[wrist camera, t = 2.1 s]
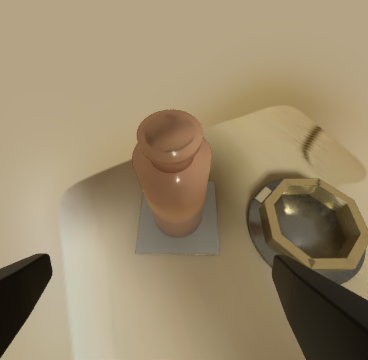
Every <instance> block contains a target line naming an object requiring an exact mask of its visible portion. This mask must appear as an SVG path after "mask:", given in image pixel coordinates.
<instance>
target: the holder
mask: <svg viewBox="0 0 368 360" xmlns="http://www.w3.org/2000/svg"><path fill="white" fill-rule="evenodd" d="M248 228H249V232H250V236H251V238H252V241H253V243H254V245H255V247H256V249H257V251H258V252H259V254H260V255H261V256H262V258H263V259H264V260H265V261H266V262H267V263H268V264H269V265H270V266H271V267H272V268H273V259H274V256H275V255H287V256H289V257H291V258H292V259H294V260H296V261H298V262H300V263H301V264H303V265H305V266H307V267H309V268H310V269H312V270H314V271H316V272H318V273H319V274H321V275H323V276H325V277H327V278H328V279H330V280H332V281H334V282H336V283H337V284H339V285H340V284H342V283H345V282H347V281H348V280H350V279H351V278H353V277H354V276H355V275H356V274H357V273H358V271H359V270H360V268H361V266H362V264H363V262H364V258H365V251H366V247H367V245H368V228H367V226H366V224H365V222H364V220H363V218H362V215H361V213H360V211H359V209H358V207H357V205H356V203H355V200H353V199H351V198H350V197H348V196H347V195H345V194H343V193H342V192H340V191H339V190H337V189H335V188H334V187H332V186H331V185H329V184H327V183H326V182H324V181H323V180H321V179H319V178H305V179H282V180H277V181H274V182H272V183H270V184H268V185H266V186H265V187H263V188H262V189H261V190H260V191H259V192H258V193H257V195H256V196H255V197H254V199H253V201H252V203H251V205H250V208H249V213H248Z"/></svg>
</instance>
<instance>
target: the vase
mask: <svg viewBox="0 0 368 360" xmlns="http://www.w3.org/2000/svg"><path fill="white" fill-rule="evenodd" d="M202 135H203V131H202V127H201V124H200V123H199V121H198V120H197V119H196V118H195V117H194V116H192V115H191V114H189V113H187V112H183V111H180V110H163V111H159V112H156V113H153V114H151V115H150V116H148V117H147V118H146V119H144V120H143V121H142V123H141V124H140V126H139V128H138V130H137V140H138V143H137V145H136V147H135V149H134V151H133V156H132V162H133V167H134V170H135V172H136V175H137V177H138V180H139V182H140V185H141V187H142V190H143V192H144V195H145V197H146V200H147V202H148V205H149V207H150V210H151V212H152V215H153V217H154V220H155V222H156V225H157V226H158V228H159V229H160V230H161V231H162V232H163V233H164V234H166V235H168V236H170V237H175V238H181V237H186V236H188V235H190V234H192V233H193V232H194V231H196V229H197V228H198V227H199V225H200V223H201V220H202V215H203V209H204V203H205V197H206V191H207V185H208V179H209V173H210V166H211V160H212V153H211V148H210V146H209V144H208V142H207V141H206V139H205V138H204V137H203V136H202Z"/></svg>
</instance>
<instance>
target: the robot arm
mask: <svg viewBox="0 0 368 360" xmlns="http://www.w3.org/2000/svg"><path fill="white" fill-rule="evenodd" d="M51 276H52V266H51V262H50V256H49V255H48V254H35V255H33V256H30V257H28V258H25V259H23V260H20V261H18V262H15V263H13V264H11V265H8V266H6V267H3V268H1V269H0V358H1V356H2V355H3V354H4V352H5V351H6V349H7V348H8V346H9V345H10V343H11V342H12V341H13V339H14V338H15V336H16V335H17V333H18V332H19V330H20V329H21V327H22V326H23V325H24V323H25V322H26V320H27V318H28V317H29V315H30V314H31V312H32V310H33V309H34V307H35V305H36V303H37V302H38V300H39V298H40V296H41V295H42V293H43V291H44V289H45V288H46V286H47V284H48V282H49V281H50V279H51ZM272 278H273V281H274V284H275V287H276V290H277V292H278V295H279V298H280V301H281V304H282V306H283V309H284V312H285V315H286V317H287V320H288V322H289V324H290V326H291V328H292V331H293V333H294V335H295V337H296V339H297V341H298V343H299V345H300V348H301V350H302V352H303V354H304V356H305V358H306V360H368V300H366V299H364V298H362V297H361V296H359V295H357V294H355V293H353V292H352V291H350V290H348V289H346V288H345V287H343V286H341V285H339V284H337V283H336V282H334V281H332V280H330V279H328V278H327V277H325V276H323V275H321V274H319V273H318V272H316V271H314V270H312V269H310V268H309V267H307V266H305V265H303V264H301V263H300V262H298V261H296V260H294V259H292V258H291V257H289V256H287V255H275V256H274V259H273V268H272Z"/></svg>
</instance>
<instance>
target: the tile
mask: <svg viewBox="0 0 368 360" xmlns="http://www.w3.org/2000/svg"><path fill="white" fill-rule="evenodd" d="M135 254H137V255H219V254H220V251H219V238H218V224H217V211H216V197H215V184H214V181H208V185H207V191H206V197H205V203H204V209H203V215H202V220H201V223H200V225H199V227H198V228H197V229H196V231H194V232H193V233H192V234H190V235H188V236H186V237H181V238H175V237H170V236H168V235H166V234H164V233H163V232H162V231H161V230H160V229H159V228H158V226H157V225H156V222H155V220H154V217H153V215H152V212H151V210H150V207H149V205H148V202H147V200H146V197H145V195H144V192H143V196H142V204H141V212H140V220H139V228H138V235H137V243H136V251H135Z"/></svg>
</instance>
